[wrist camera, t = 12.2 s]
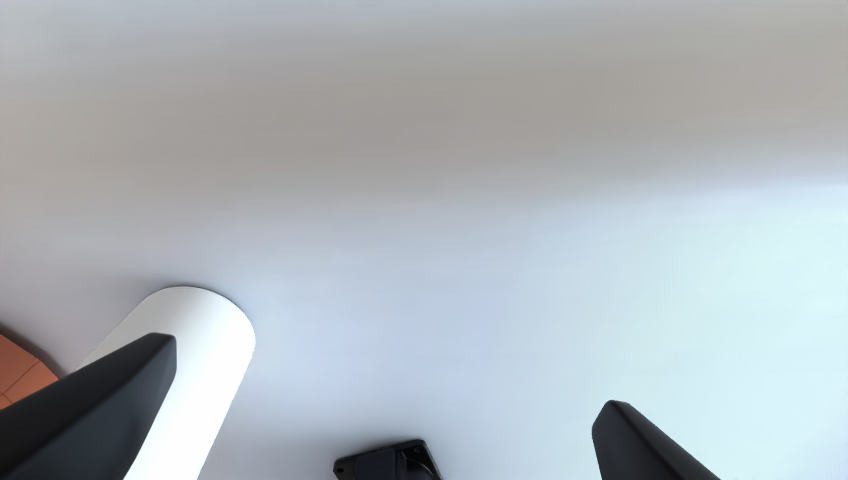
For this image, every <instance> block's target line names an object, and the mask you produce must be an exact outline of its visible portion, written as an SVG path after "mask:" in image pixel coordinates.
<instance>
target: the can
mask: <svg viewBox="0 0 848 480" xmlns="http://www.w3.org/2000/svg"><path fill="white" fill-rule="evenodd" d="M151 332H158V333H164V334H171V335H173V336H175V338H176V342H177V370H176V375H175V378H174V380H173V383H172V385H171V387H170V389H169V391H168V393H167V395H166V397H165V399H164V402H163V404H162V406H161V408H160V410H159V412H158V414H157V416H156V418H155V420H154V422H153V425H152V427H151V429H150V431H149V433H148V435H147V437H146V439H145V441H144V443H143V445H142V447H141V449H140V451H139V453H138V455H137V457H136V459H135V461H134V463H133V464H132V466H131V468H130V469H129V471H128V473H127V474H126V476H125V478H124V479H123V480H197V477H198V475H199V473H200V471H201V469H202V466H203V464H204V462H205V460H206V458H207V456H208V453H209V451H210V449H211V447H212V445H213V442H214V440H215V438H216V436H217V434H218V432H219V429H220V427H221V425H222V423H223V421H224V418H225V416H226V414H227V412H228V410H229V407H230V405H231V403H232V401H233V399H234V396H235V394H236V392H237V390H238V387H239V385H240V383H241V381H242V379H243V376H244V374H245V372H246V370H247V367H248V365H249V363H250V360H251V358H252V356H253V353H254V349H255V335H254V331H253V328H252V325H251V323H250V322H249V320H248V318H247V317H246V316H245V314H244V313H243V312H242V311H241V310H240V308H239V307H237V306H236V305H235V304H234V303H233V302H232V301H230V300H229V299H227V298H225V297H224V296H222V295H220V294H218V293H215V292H213V291H210V290H206V289H202V288H196V287H186V286H180V287H170V288H166V289H162V290H159V291H157V292H154V293H153V294H151V295H149V296H148V297H146V298H145V299H144V300H143V301H142V302H141V303H140V304H139V305H137V306H136V307H135V308H134V309H133V310H132V311H131V312H130V313H129V314H128V315H127V316H126V317H125V318H124V319H123V320H122V322H121V323H120V324H119V325H118V326H117V327H116V328H115V329H114V330H113V331H112V332H111V333H110V334H109V335H108V336H107V337H106V338H105V339H104V340H103V341H102V342H101V343H100V344H99V345H98V346H97V347H96V348H95V349H94V350H93V351H92V352H91V353H90V354H89V355H88V356H87V357H86V358H85V359H84V360H83V361H82V362H81V363H80V364H79V365H78V366H77V368H76V369H75V370H74V371H76V370H78V369H80V368H82V367H84V366H86V365H88V364H90V363H92V362H94V361H96V360H98V359H100V358H102V357H103V356H105V355H107V354H109V353H111V352H113V351H115V350H117V349H119V348H121V347H123V346H125V345H127V344H129V343H131V342H133V341H134V340H136V339H138V338H140V337H142V336H144V335H146V334H148V333H151ZM74 371H73V372H74ZM73 372H72V373H73Z"/></svg>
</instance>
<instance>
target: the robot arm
mask: <svg viewBox="0 0 848 480" xmlns="http://www.w3.org/2000/svg"><path fill="white" fill-rule="evenodd" d="M176 370H177V342H176V338H175V336H173V335H171V334H164V333H158V332H151V333H148V334H146V335H144V336H142V337H140V338H138V339H136V340H134V341H133V342H131V343H129V344H127V345H125V346H123V347H121V348H119V349H117V350H115V351H113V352H111V353H109V354H107V355H105V356H103V357H102V358H100V359H98V360H96V361H94V362H92V363H90V364H88V365H86V366H84V367H82V368H80V369H78V370H76V371H74V372H73V373H71V374H69V375H67V376H65V377H63V378H61V379H59V380H57V381H55V382H53V383H51V384H49V385H47V386H45V387H43V388H42V389H40V390H38V391H36V392H34V393H32V394H30V395H28V396H26V397H24V398H22V399H20V400H18V401H16V402H14V403H12V404H11V405H9V406H7V407H5V408H3V409H1V410H0V480H123V479H124V478H125V476H126V474H127V473H128V471H129V469H130V468H131V466H132V464H133V463H134V461H135V459H136V457H137V455H138V453H139V451H140V449H141V447H142V445H143V443H144V441H145V439H146V437H147V435H148V433H149V431H150V429H151V427H152V425H153V422H154V420H155V418H156V416H157V414H158V412H159V410H160V408H161V406H162V404H163V402H164V399H165V397H166V395H167V393H168V391H169V389H170V387H171V385H172V383H173V380H174V378H175V375H176ZM592 439H593V443H594V447H595V452H596V456H597V460H598V464H599V468H600V473H601V477H602V480H720V479H719V478H718V477H717V476H716V475H714V474H713V473H712V472H711V471H710V470H708V469H707V468H706V467H705V466H704V465H702V464H701V463H700V462H699V461H698V460H696V459H695V458H694V457H693V456H692V455H690V454H689V453H688V452H687V451H686V450H684V449H683V448H682V447H681V446H680V445H678V444H677V443H676V442H675V441H673V440H672V439H671V438H670V437H669V436H667V435H666V434H665V433H664V432H663V431H661V430H660V429H659V428H658V427H657V426H655V425H654V424H653V423H652V422H651V421H649V420H648V419H647V418H646V417H645V416H643V415H642V414H641V413H640V412H639V411H637V410H636V409H635V408H634V407H633V406H631V405H630V404H629V403H626V402H622V401H615V400H609V401H608V402H606V403H605V405H604V406H603V408H602V410H601V411H600V413H599V415H598V417H597V418H596V420H595V422H594V424H593V426H592ZM333 472H334V473H335V475H336V476H337V478H338V480H443V479H442V477H441V475H440V473H439V470H438V468H437V466H436V464H435V462H434V460H433V458H432V456H431V453H430V451H429V449H428V447H427V445H426V443H425V441H423V440H420V439H417V440H413V441H409V442H405V443H401V444H398V445H394V446H390V447H386V448H383V449H379V450H375V451H371V452H367V453H364V454H360V455H356V456H352V457H349V458H345V459H341V460H338V461H336V462H335V463H334V467H333Z"/></svg>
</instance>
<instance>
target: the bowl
mask: <svg viewBox="0 0 848 480" xmlns="http://www.w3.org/2000/svg"><path fill="white" fill-rule="evenodd" d="M57 380H59V379H58V378H57V377H56V376H55V375H54V374H53V373H52V372H51V371H50V370H49V369H48V368H47V366H46V365H45V364H44V363H43V362H42V361H40V360H39V359H38V358H36V357H35V356H33V355H32V354H30V353H28V352H27V351H25V350H24V349H22V348H21V347H19V346H18V345H16V344H15V343H13V342H12V341H10V340H9V339H7V338H6V337H4V336H2V335H1V334H0V410H1V409H3V408H5V407H7V406H9V405H11V404H12V403H14V402H16V401H18V400H20V399H22V398H24V397H26V396H28V395H30V394H32V393H34V392H36V391H38V390H40V389H42V388H43V387H45V386H47V385H49V384H51V383H53V382H55V381H57Z"/></svg>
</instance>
